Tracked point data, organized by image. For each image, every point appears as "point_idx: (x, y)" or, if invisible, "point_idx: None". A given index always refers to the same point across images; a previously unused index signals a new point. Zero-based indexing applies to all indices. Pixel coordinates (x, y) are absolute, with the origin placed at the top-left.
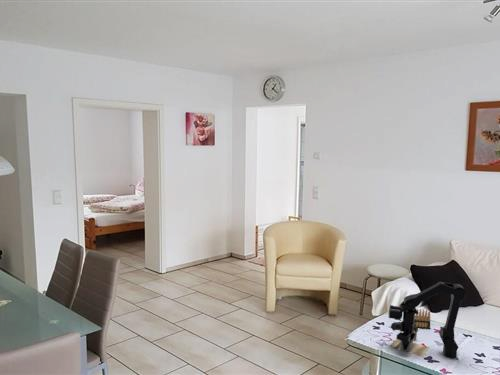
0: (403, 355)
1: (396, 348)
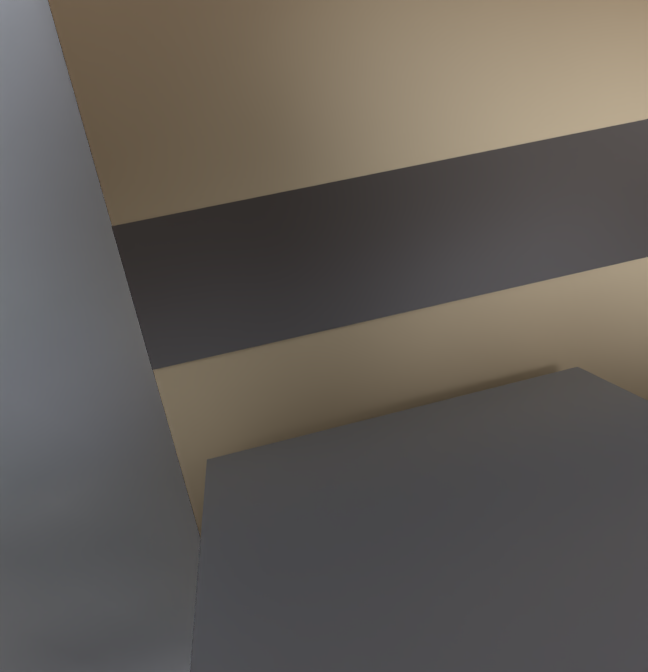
0: (65, 613)
1: (159, 302)
